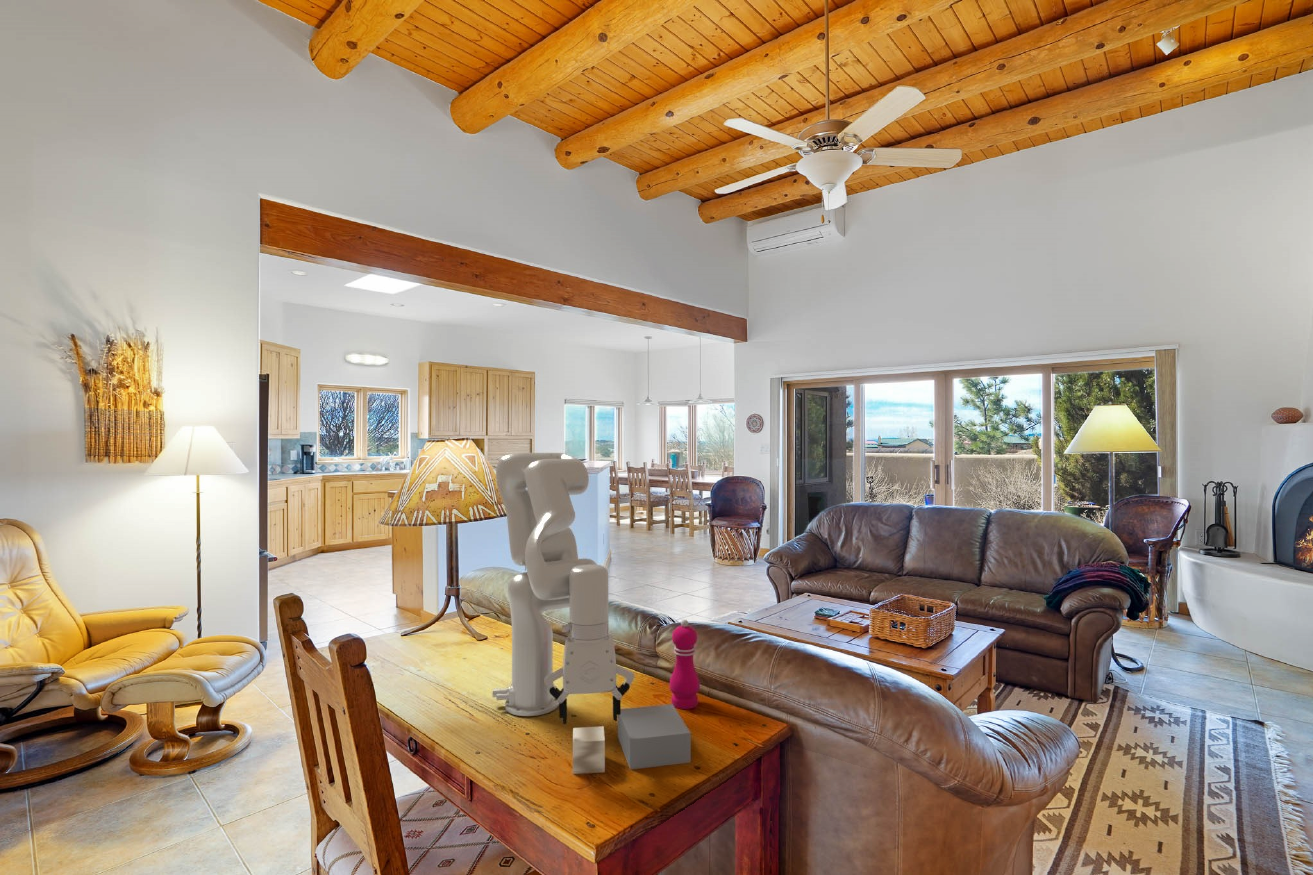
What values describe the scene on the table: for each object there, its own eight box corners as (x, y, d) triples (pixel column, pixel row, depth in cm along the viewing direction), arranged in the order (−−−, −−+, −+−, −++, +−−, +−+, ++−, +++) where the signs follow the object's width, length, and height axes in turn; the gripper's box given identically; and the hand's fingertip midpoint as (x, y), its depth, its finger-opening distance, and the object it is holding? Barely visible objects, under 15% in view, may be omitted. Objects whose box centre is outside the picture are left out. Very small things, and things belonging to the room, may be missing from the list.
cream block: (572, 774, 118) (572, 742, 118) (573, 758, 124) (573, 727, 124) (604, 772, 119) (604, 740, 119) (603, 756, 125) (603, 726, 125)
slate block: (630, 771, 120) (630, 739, 120) (617, 737, 133) (617, 709, 133) (690, 763, 122) (690, 732, 122) (672, 731, 136) (672, 703, 136)
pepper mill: (690, 712, 145) (690, 625, 145) (663, 705, 149) (663, 621, 149) (705, 701, 151) (705, 618, 151) (679, 695, 155) (679, 614, 155)
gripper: (542, 637, 117) (543, 731, 116) (635, 633, 119) (636, 725, 118) (545, 626, 124) (545, 714, 124) (632, 623, 126) (633, 709, 126)
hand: (590, 719), depth 121 cm, fingers open, 9 cm apart
